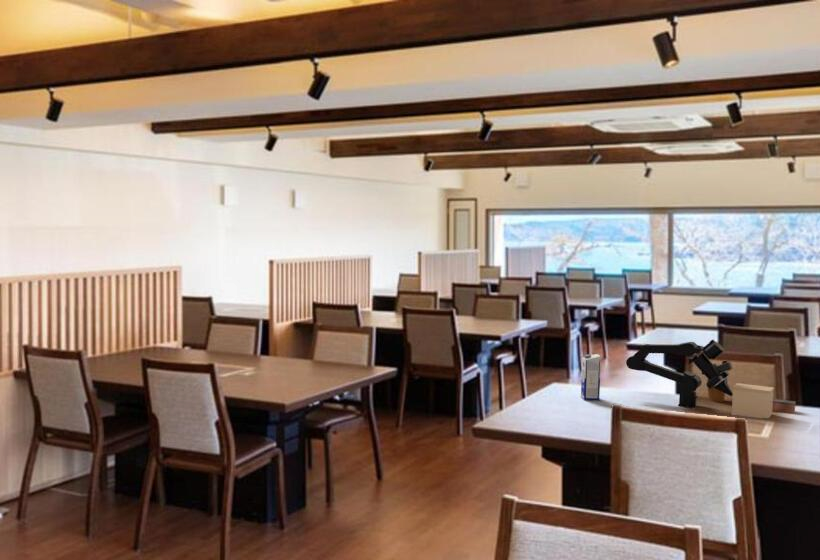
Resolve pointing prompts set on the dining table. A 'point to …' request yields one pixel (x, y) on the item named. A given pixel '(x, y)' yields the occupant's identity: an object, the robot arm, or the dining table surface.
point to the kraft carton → (752, 400)
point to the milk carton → (590, 377)
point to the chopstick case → (783, 406)
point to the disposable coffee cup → (716, 394)
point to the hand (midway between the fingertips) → (732, 395)
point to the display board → (747, 416)
